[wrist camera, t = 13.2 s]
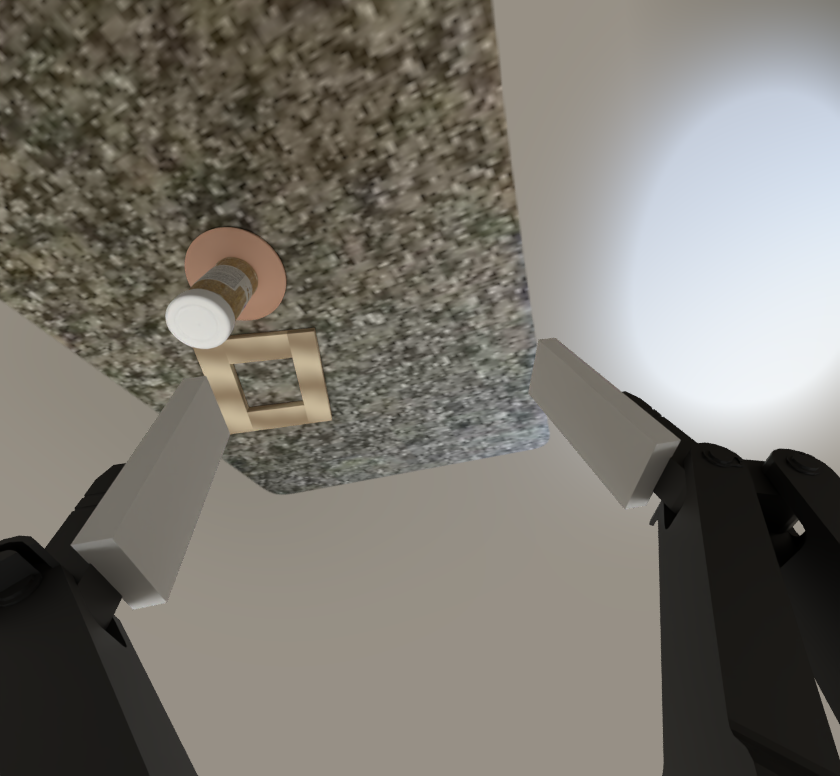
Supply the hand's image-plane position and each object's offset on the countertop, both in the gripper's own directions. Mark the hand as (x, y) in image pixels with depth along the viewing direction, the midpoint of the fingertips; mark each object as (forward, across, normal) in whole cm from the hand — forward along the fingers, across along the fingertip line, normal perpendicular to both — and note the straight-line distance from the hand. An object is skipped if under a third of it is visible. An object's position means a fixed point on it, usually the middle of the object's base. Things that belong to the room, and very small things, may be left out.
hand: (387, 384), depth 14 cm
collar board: (+31, -13, -17) cm, 37 cm away
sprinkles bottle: (+30, -13, -3) cm, 33 cm away
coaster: (+31, -13, -3) cm, 33 cm away
